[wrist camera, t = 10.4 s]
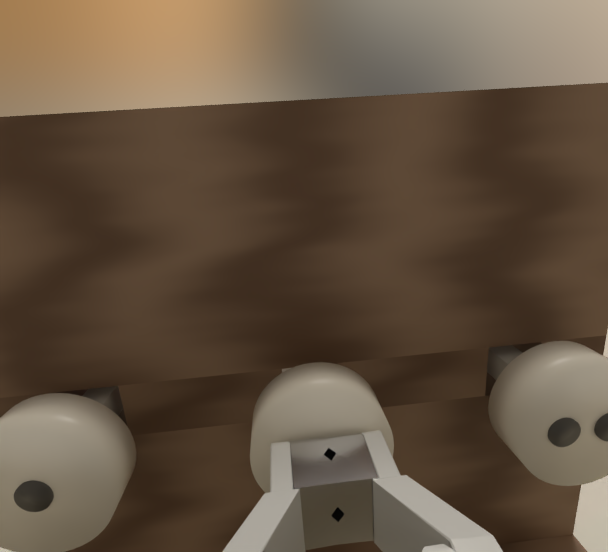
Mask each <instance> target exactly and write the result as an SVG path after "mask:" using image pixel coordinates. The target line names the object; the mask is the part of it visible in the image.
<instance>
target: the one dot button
mask: <svg viewBox="0 0 608 552" xmlns="http://www.w3.org/2000/svg"><path fill="white" fill-rule="evenodd" d="M122 409H123V404H122V400H121V396H120V391H119V387H118V386H111V387H102V388H92V389H88V390H87V391H86V392H85V393H84V394H83V396H79V395H74V394H67V393H49V394H43V395H38V396H34V397H31V398H28V399H26V400H24V401H22V402H20V403H18V404H16V405H15V406H14V407H12V408H11V409H10V410H9V411H7V412H6V413H5V414H4V415H3V416H2V417H1V418H0V547H2V548H5V549H8V550H11V551H15V552H66V551H69V550H72V549H75V548H78V547H80V546H82V545H84V544H86V543H88V542H90V541H91V540H93V539H94V538H95V537H97V536H98V535H99V534H100V533H101V532H102V531H103V530H104V529H105V527H106V526H107V525H108V524H109V522H110V520H111V518H112V516H113V514H114V512H115V510H116V508H117V506H118V503H119V501H120V499H121V497H122V495H123V493H124V490H125V488H126V486H127V484H128V482H129V480H130V477H131V475H132V473H133V470H134V468H135V464H136V446H135V442H134V439H133V436H132V434H131V432H130V430H129V429H128V427H127V426H126V424H125V423H124V422H123V420H122V419H121V418H120V417H119V416H118V415H119V414H120V412H121V411H122Z"/></svg>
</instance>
